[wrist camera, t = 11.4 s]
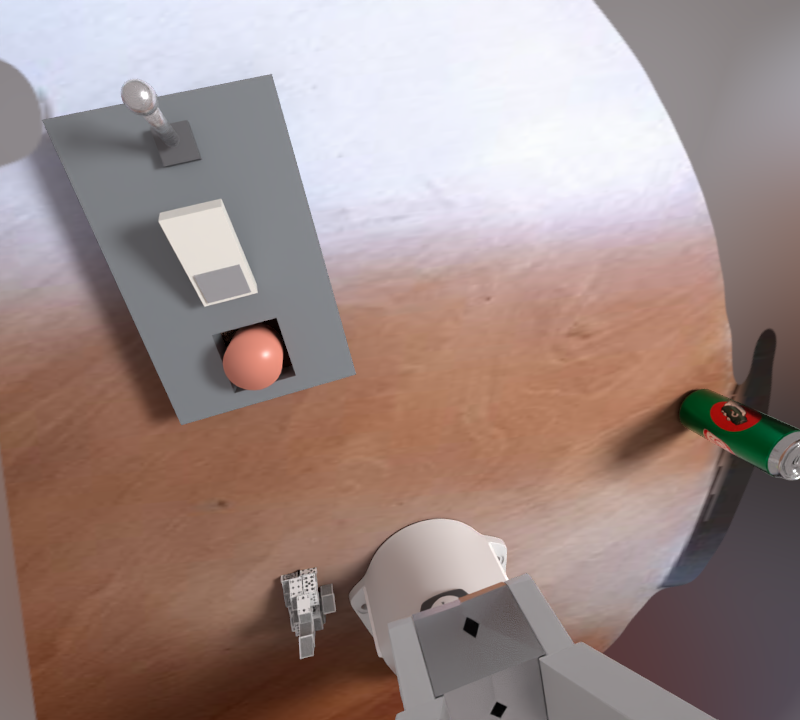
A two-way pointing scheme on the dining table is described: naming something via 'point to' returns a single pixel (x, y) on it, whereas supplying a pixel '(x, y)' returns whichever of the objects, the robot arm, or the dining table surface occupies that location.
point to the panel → (251, 219)
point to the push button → (254, 357)
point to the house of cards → (307, 606)
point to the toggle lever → (148, 109)
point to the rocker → (209, 251)
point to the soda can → (744, 432)
